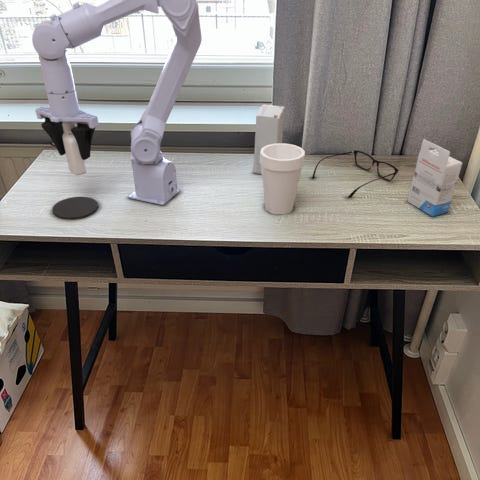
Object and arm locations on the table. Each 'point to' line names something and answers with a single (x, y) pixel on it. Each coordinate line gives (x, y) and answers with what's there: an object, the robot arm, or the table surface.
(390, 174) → the eyeglasses
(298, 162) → the foam cup
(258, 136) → the cosmetic box
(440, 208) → the ink box
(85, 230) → the table surface
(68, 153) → the eye dropper bottle
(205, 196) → the table surface
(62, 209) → the coaster
